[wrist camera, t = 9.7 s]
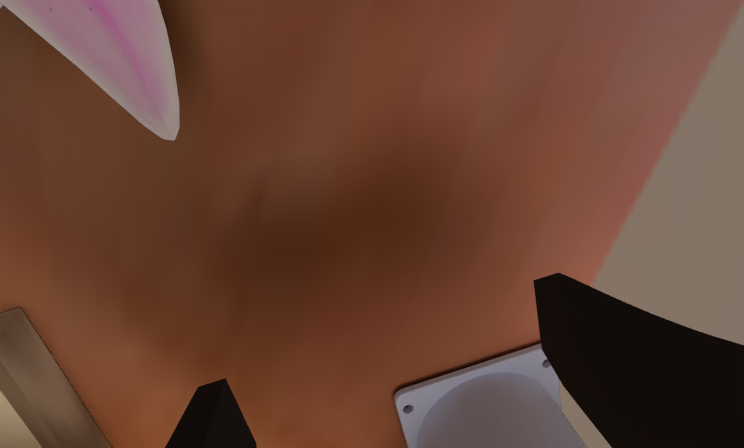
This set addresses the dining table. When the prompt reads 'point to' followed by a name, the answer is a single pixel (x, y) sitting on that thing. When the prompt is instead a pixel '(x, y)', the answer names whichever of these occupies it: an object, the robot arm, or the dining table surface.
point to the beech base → (38, 394)
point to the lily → (114, 51)
